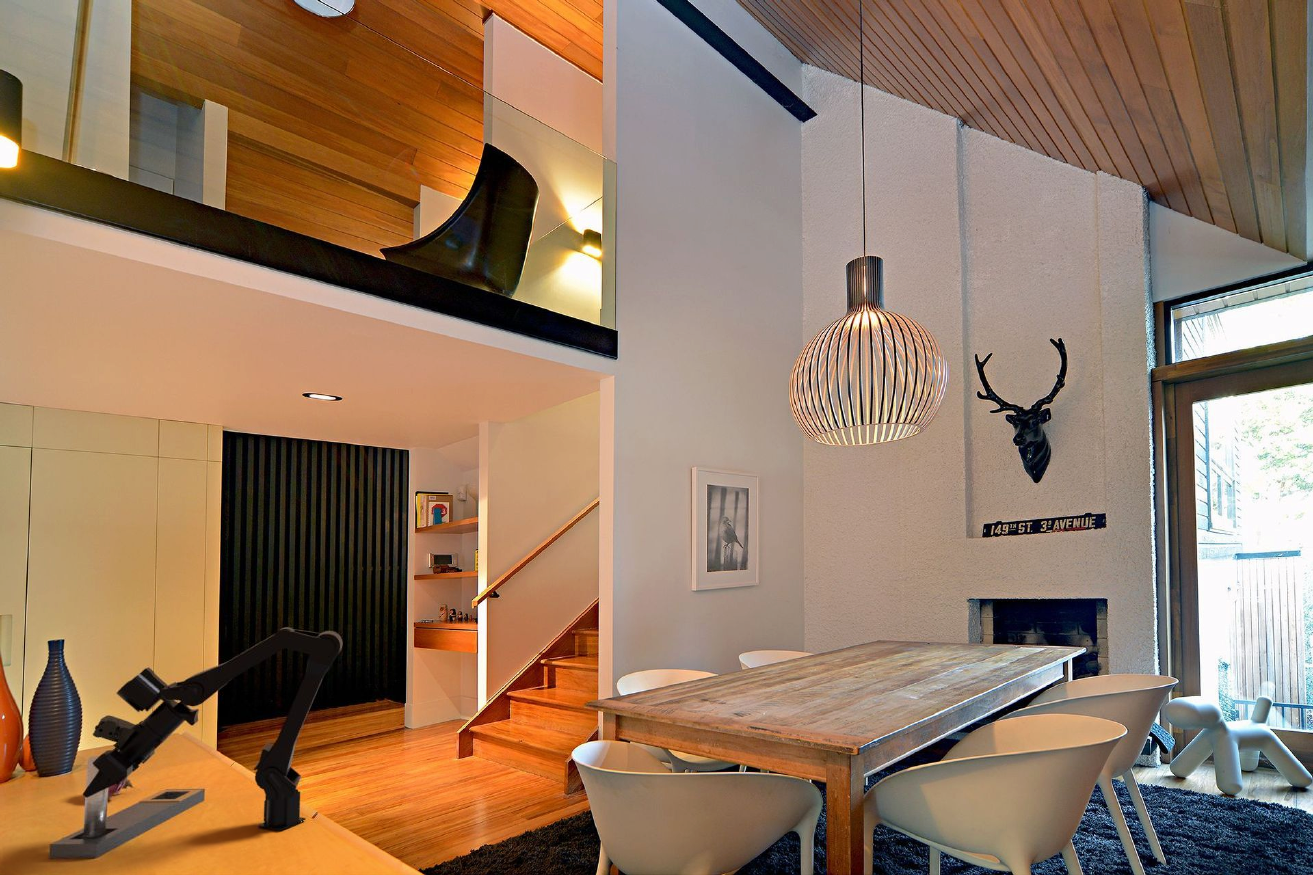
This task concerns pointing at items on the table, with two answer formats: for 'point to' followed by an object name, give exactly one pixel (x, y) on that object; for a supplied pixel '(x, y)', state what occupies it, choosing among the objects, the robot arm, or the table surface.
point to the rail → (128, 824)
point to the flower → (119, 787)
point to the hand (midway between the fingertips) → (88, 792)
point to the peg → (94, 805)
